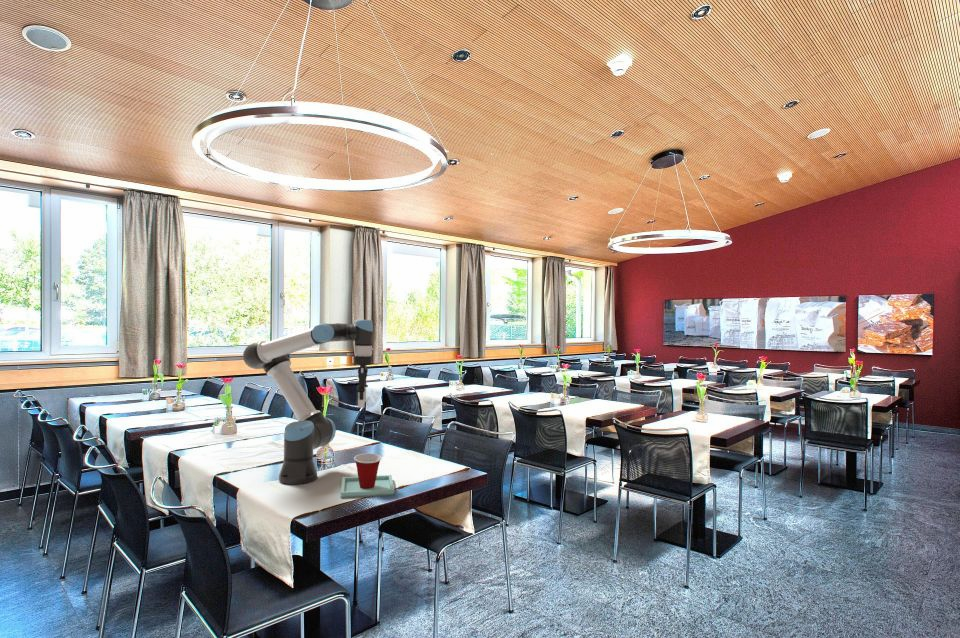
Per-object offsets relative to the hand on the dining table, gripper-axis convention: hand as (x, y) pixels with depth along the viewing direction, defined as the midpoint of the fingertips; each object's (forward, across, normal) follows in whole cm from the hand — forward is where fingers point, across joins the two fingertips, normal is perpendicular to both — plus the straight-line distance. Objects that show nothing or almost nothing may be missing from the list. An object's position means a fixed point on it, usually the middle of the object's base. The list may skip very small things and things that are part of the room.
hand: (361, 404), depth 227 cm
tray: (+30, -18, -4) cm, 35 cm away
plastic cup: (+30, -18, -4) cm, 35 cm away
